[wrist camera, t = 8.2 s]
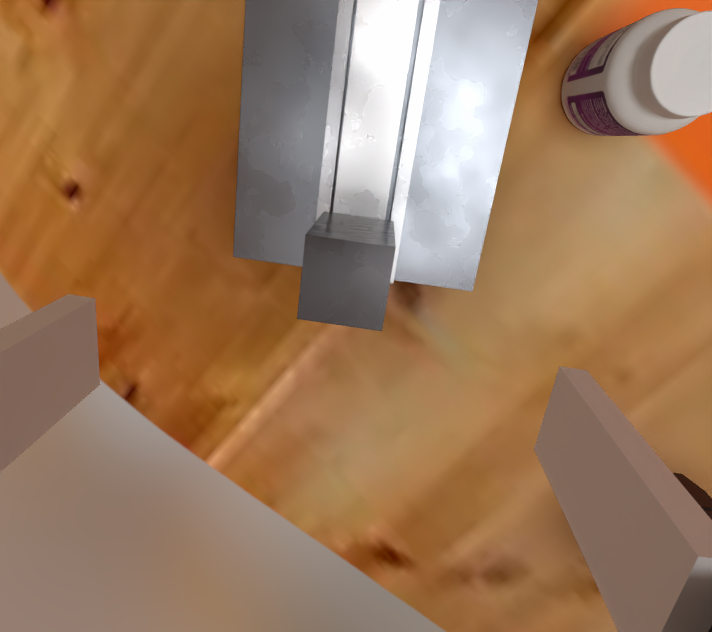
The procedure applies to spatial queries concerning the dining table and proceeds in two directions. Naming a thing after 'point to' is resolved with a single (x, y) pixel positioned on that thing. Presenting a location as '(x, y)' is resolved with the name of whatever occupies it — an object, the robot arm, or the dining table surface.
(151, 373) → the dining table surface
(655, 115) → the pill bottle
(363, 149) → the sliding bolt with handle
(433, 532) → the dining table surface
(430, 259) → the slotted base plate
